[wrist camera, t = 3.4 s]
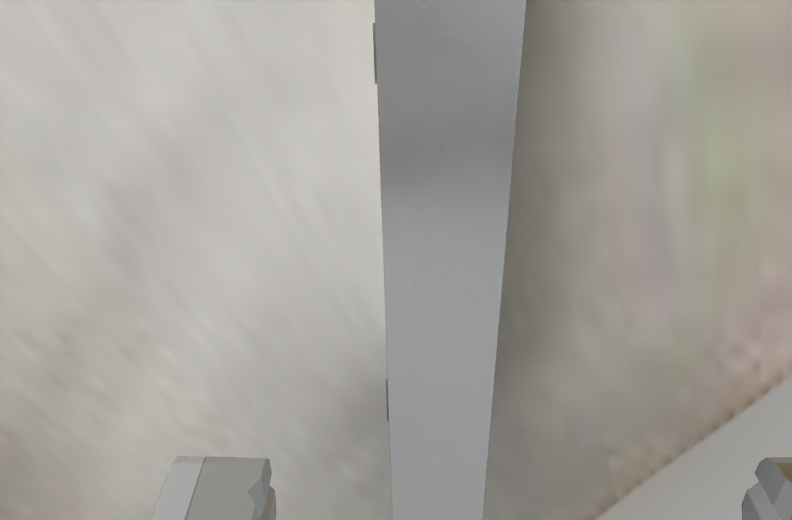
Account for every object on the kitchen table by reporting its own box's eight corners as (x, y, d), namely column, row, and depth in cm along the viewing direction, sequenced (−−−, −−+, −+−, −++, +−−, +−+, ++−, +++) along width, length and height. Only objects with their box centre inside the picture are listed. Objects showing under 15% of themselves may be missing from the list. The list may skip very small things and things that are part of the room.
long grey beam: (388, 419, 23) (391, 549, 19) (367, -149, 14) (366, -134, 10) (461, 416, 23) (481, 545, 19) (490, -152, 14) (541, -138, 10)
